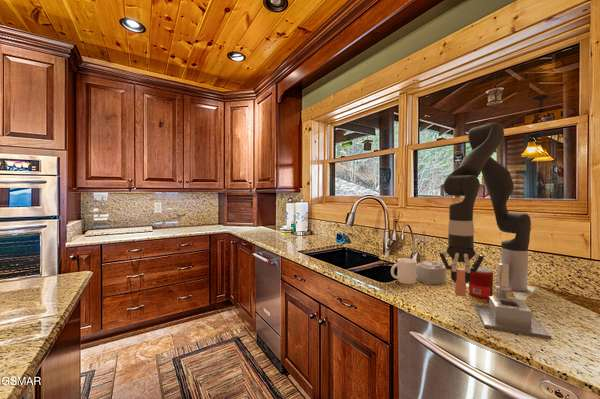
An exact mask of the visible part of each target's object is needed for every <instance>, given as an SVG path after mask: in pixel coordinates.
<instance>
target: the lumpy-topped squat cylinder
mask: <svg viewBox="0 0 600 399" xmlns="http://www.w3.org/2000/svg"><path fill="white" fill-rule="evenodd" d="M417 280H418V281H420V282H422V283H423V284H426V285H441V284H444V283H446V282H447V269H446V267H445V265H444V263H443V262H438V261H430V260H423V261H422V262H419V263H416V281H417Z"/></svg>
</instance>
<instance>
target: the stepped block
mask: <svg viewBox="0 0 600 399" xmlns="http://www.w3.org/2000/svg"><path fill="white" fill-rule="evenodd" d="M455 271H456V282H454V293H455V296H458V297H467V283H466V281H465V271H466V270H465V267H464V268H463V267H456V270H455Z"/></svg>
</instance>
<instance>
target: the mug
mask: <svg viewBox="0 0 600 399" xmlns="http://www.w3.org/2000/svg"><path fill="white" fill-rule="evenodd" d="M396 268H397V272H396V273H397V274H396V275H395V269H396ZM390 274H391V276H392V278H394V279H397V282H399V283H400V284H402V283H403V285H410V286H411V285H415V284H416V283H417V260H416V259H414V258H407V257H406V258H405V257H400V258H399V257H398V258H397V263H394V264H393V265H392V266H391V269H390Z"/></svg>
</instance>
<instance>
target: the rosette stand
mask: <svg viewBox="0 0 600 399" xmlns="http://www.w3.org/2000/svg"><path fill="white" fill-rule="evenodd" d="M496 264H497V265H496V284H495V283H494V284H493V289H495V290H496V296H493V295H492V296H489V299H488V301H489V302H488V305H483V304H482V305H480V304H475V306H474V307H475V309H476V312H477V314H478V316H479V319H480V320H481V322H482V324H483V326H484V329H491V330H495V331H501V332H507V333H511V334H512V333H513V334H518V335H524V336H530V337H534V338H535V337H536V338H539V339H540V338H541V339H545V340H546V339H547V340H552V335H551V334H550V332H548V330H546V328H545V327H544V326H543V325H542V324H541V322H539V320H537V318H536V317H535V316H534V314H533V311H532V310H531V309H530V308H529V307H528V306H527V305H526V304H525V303H524V302H523V300H520V299H513V298H512V299H511V298H509V292H511V291H512V290H511V287H509V286H508V272H509V265H508V264H506V263H501V262H497V263H496Z"/></svg>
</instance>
